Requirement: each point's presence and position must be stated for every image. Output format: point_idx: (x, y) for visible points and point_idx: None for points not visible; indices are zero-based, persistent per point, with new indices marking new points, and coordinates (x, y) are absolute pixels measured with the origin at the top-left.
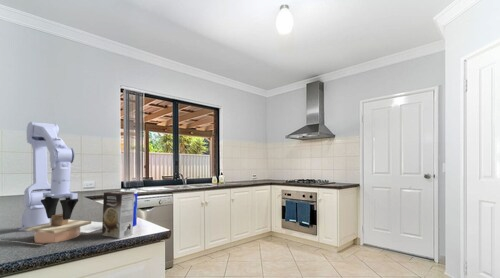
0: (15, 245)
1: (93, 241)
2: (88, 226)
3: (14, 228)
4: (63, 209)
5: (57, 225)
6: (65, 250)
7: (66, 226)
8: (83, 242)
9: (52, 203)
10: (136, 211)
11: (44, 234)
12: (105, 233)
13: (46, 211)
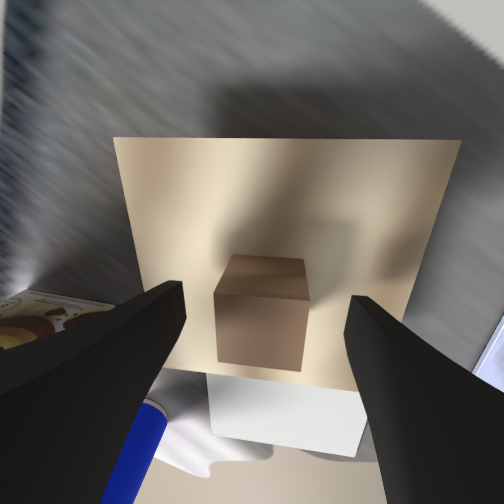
0: (399, 77)
1: (78, 245)
2: (294, 399)
3: None
4: (98, 324)
5: (239, 255)
6: (42, 104)
7: (172, 258)
8: (99, 224)
9: (412, 477)
10: None
11: None
12: (85, 309)
13: (404, 332)
